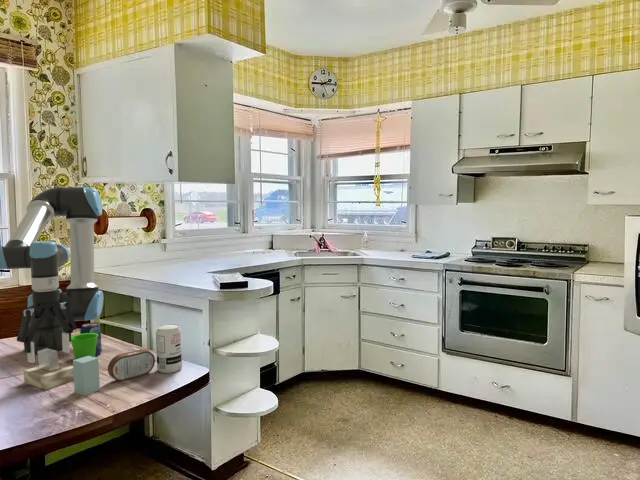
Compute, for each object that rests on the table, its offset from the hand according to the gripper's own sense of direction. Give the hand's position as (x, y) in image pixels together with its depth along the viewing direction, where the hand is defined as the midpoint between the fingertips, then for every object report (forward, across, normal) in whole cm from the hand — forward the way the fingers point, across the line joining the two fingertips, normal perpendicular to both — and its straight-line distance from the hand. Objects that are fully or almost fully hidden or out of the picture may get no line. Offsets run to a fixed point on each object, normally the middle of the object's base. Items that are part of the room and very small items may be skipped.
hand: (49, 357), depth 150 cm
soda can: (+8, +22, +12) cm, 27 cm away
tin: (+8, +15, -21) cm, 27 cm away
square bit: (+8, 0, -18) cm, 20 cm away
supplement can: (+8, +26, -26) cm, 38 cm away
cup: (+8, +14, +2) cm, 16 cm away
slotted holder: (+8, 0, 0) cm, 8 cm away
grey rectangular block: (+8, 0, 0) cm, 8 cm away
